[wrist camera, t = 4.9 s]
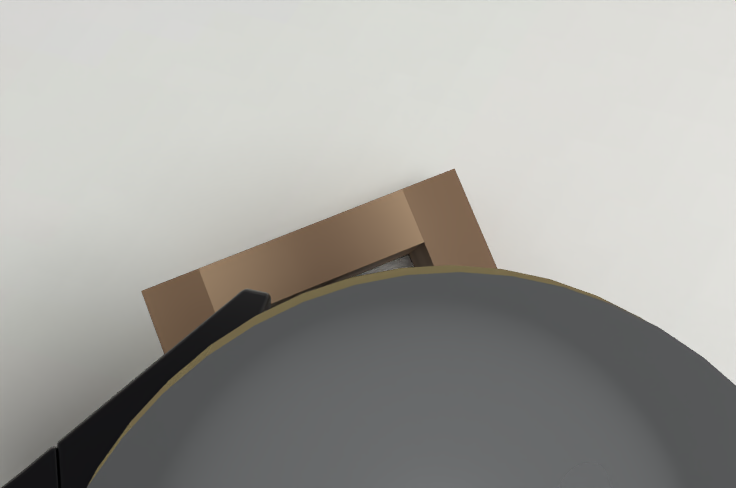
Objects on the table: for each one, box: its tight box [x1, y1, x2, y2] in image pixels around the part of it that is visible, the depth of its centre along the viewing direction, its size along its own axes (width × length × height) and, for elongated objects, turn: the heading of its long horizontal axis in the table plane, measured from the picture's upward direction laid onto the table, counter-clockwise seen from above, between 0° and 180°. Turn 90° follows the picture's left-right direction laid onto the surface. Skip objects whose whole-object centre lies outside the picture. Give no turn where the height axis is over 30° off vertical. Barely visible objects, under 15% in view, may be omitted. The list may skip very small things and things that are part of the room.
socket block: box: [142, 169, 497, 354], centre depth 14 cm, size 8×8×3 cm
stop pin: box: [87, 265, 736, 488], centre depth 9 cm, size 4×4×13 cm
